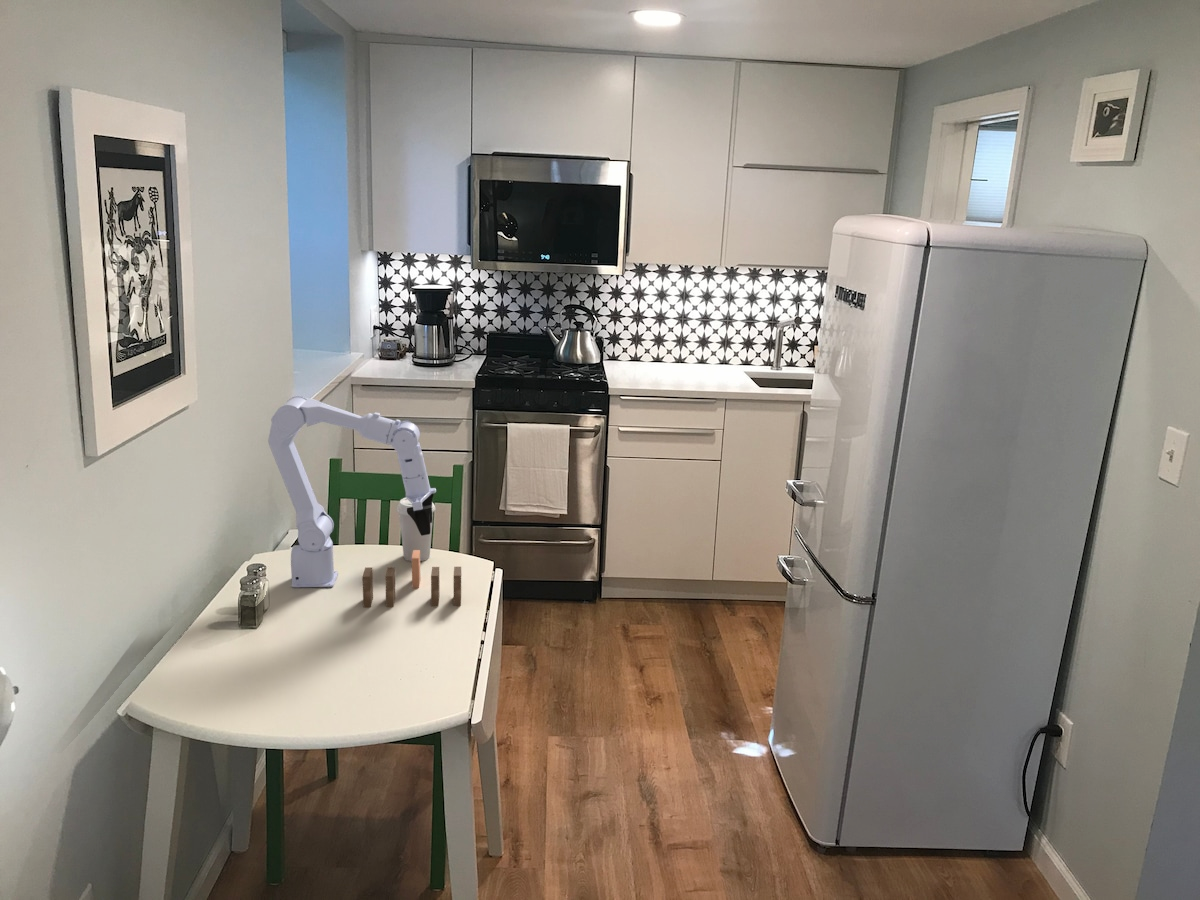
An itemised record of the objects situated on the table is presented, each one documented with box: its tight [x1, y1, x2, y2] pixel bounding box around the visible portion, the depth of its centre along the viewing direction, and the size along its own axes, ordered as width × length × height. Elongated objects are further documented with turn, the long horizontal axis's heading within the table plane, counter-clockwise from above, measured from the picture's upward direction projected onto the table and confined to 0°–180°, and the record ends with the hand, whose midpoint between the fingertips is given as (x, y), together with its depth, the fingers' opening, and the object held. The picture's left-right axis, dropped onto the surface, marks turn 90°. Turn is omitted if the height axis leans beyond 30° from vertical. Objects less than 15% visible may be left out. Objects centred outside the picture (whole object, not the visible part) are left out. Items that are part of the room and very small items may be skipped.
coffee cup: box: [396, 497, 436, 562], centre depth 236 cm, size 10×10×15 cm
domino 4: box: [430, 566, 440, 607], centre depth 213 cm, size 2×5×8 cm, turn 7°
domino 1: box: [361, 566, 374, 608], centre depth 211 cm, size 2×5×8 cm, turn 7°
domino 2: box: [384, 566, 396, 608], centre depth 212 cm, size 2×5×8 cm, turn 7°
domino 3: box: [411, 550, 421, 589], centre depth 222 cm, size 2×5×8 cm, turn 7°
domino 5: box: [453, 566, 462, 607], centre depth 214 cm, size 2×5×8 cm, turn 7°
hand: (426, 528), depth 220 cm, fingers open, 7 cm apart
